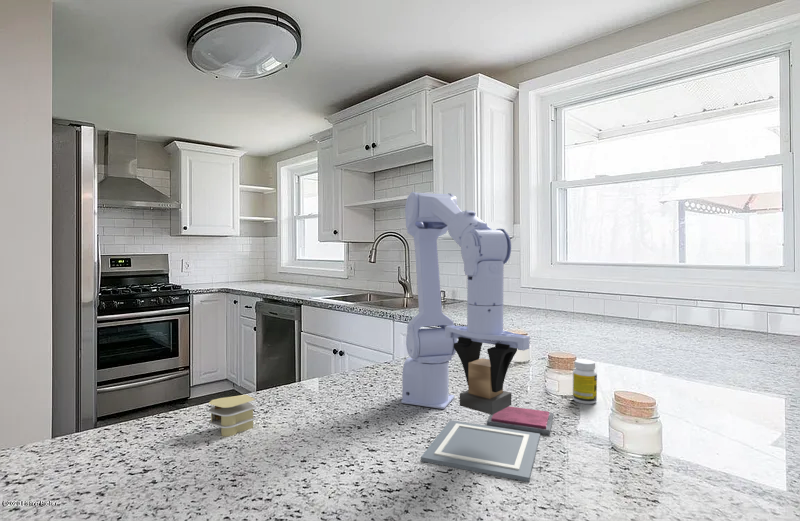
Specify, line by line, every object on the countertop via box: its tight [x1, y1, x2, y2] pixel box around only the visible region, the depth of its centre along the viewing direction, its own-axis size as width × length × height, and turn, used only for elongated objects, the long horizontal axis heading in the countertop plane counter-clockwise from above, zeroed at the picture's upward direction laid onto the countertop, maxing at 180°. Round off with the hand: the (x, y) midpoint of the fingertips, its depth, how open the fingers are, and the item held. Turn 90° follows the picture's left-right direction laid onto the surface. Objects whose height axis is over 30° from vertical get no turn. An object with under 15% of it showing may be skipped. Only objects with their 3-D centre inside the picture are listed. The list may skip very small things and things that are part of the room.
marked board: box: [420, 419, 541, 483], centre depth 73 cm, size 16×16×1 cm
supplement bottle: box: [572, 358, 598, 405], centre depth 95 cm, size 5×5×8 cm
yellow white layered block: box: [208, 394, 256, 437], centre depth 80 cm, size 10×9×6 cm
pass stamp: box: [459, 357, 512, 415], centre depth 73 cm, size 6×6×7 cm
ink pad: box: [486, 405, 554, 436], centre depth 84 cm, size 11×9×1 cm
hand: (484, 387), depth 73 cm, fingers closed on pass stamp, 4 cm apart
